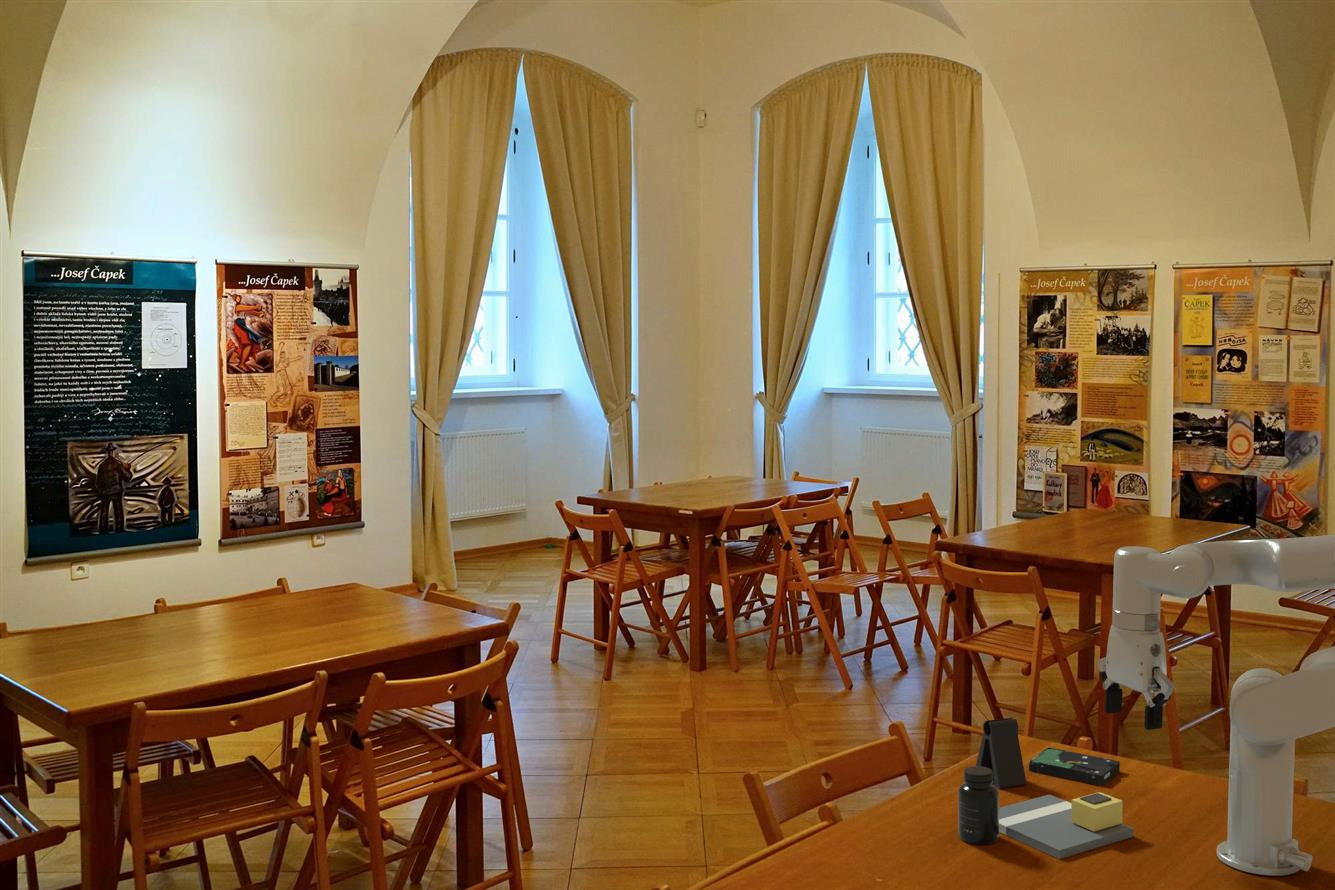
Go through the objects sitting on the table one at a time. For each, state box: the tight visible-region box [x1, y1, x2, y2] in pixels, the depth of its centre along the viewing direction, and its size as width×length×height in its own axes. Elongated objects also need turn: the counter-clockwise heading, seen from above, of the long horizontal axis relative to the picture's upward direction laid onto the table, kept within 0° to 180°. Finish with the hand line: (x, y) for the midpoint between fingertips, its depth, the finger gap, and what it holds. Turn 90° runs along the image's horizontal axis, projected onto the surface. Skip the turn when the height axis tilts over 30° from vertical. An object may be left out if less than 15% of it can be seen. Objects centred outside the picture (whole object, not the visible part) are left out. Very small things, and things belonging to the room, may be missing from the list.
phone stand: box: [975, 717, 1028, 790], centre depth 246 cm, size 9×6×12 cm, turn 18°
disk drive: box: [1028, 746, 1121, 787], centre depth 251 cm, size 10×3×15 cm
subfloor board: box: [999, 794, 1135, 860], centre depth 222 cm, size 19×18×2 cm
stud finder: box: [1071, 791, 1124, 831], centre depth 219 cm, size 5×7×4 cm
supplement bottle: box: [957, 765, 1000, 846], centre depth 218 cm, size 7×7×12 cm
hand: (1132, 720), depth 214 cm, fingers open, 9 cm apart
